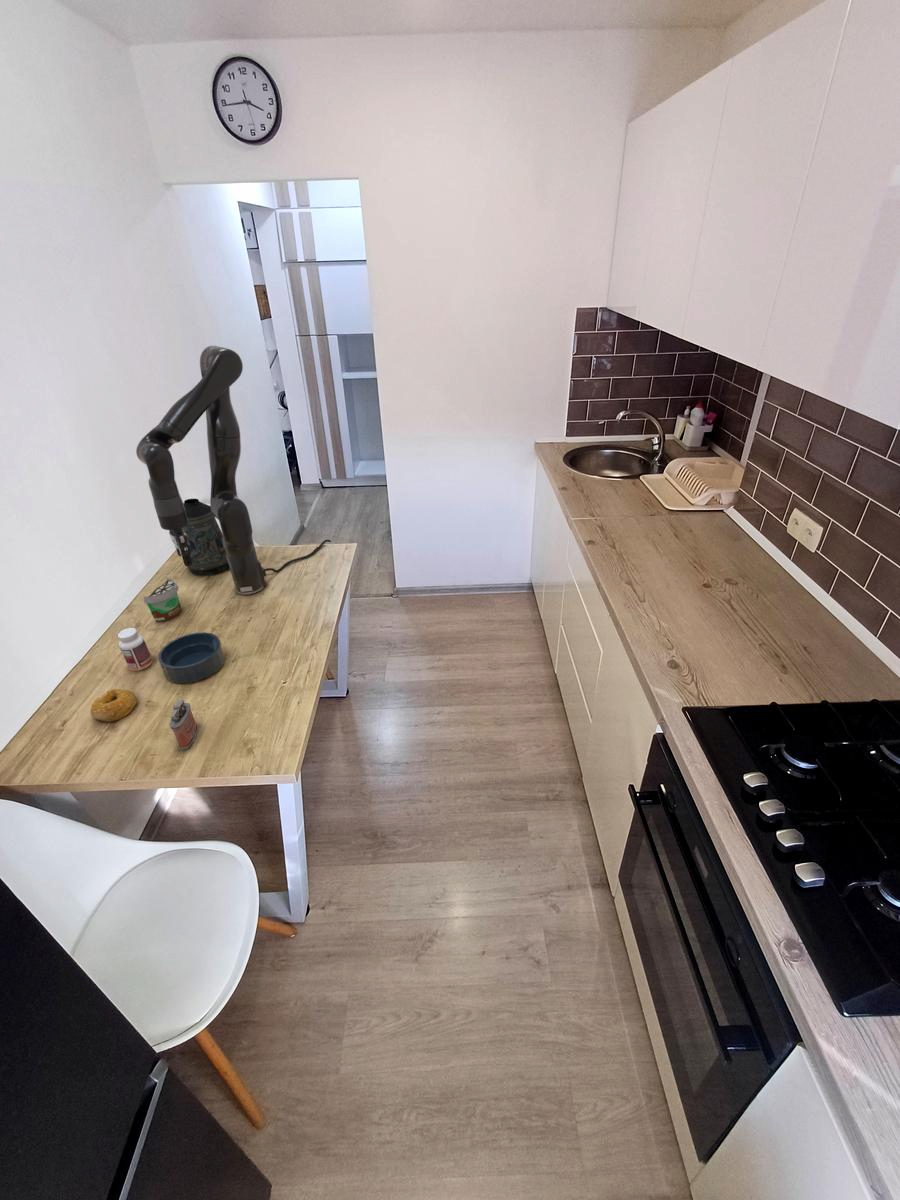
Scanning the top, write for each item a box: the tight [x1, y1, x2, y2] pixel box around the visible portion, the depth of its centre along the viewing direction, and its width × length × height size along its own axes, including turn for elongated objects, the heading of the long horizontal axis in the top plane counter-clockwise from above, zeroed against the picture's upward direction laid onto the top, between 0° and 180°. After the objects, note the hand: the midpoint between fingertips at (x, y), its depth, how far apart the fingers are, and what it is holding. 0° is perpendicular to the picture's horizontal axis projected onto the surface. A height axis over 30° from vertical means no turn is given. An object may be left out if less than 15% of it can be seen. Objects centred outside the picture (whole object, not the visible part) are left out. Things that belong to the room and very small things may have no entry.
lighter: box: [169, 698, 200, 752], centre depth 132 cm, size 8×3×10 cm, turn 5°
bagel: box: [90, 688, 138, 723], centre depth 143 cm, size 10×11×5 cm
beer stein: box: [183, 498, 230, 577], centre depth 202 cm, size 16×19×25 cm
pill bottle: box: [117, 627, 153, 672], centre depth 157 cm, size 6×6×11 cm
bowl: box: [157, 631, 226, 684], centre depth 156 cm, size 16×16×6 cm
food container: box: [143, 577, 182, 623], centre depth 178 cm, size 12×6×10 cm, turn 168°
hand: (185, 560), depth 173 cm, fingers open, 8 cm apart
